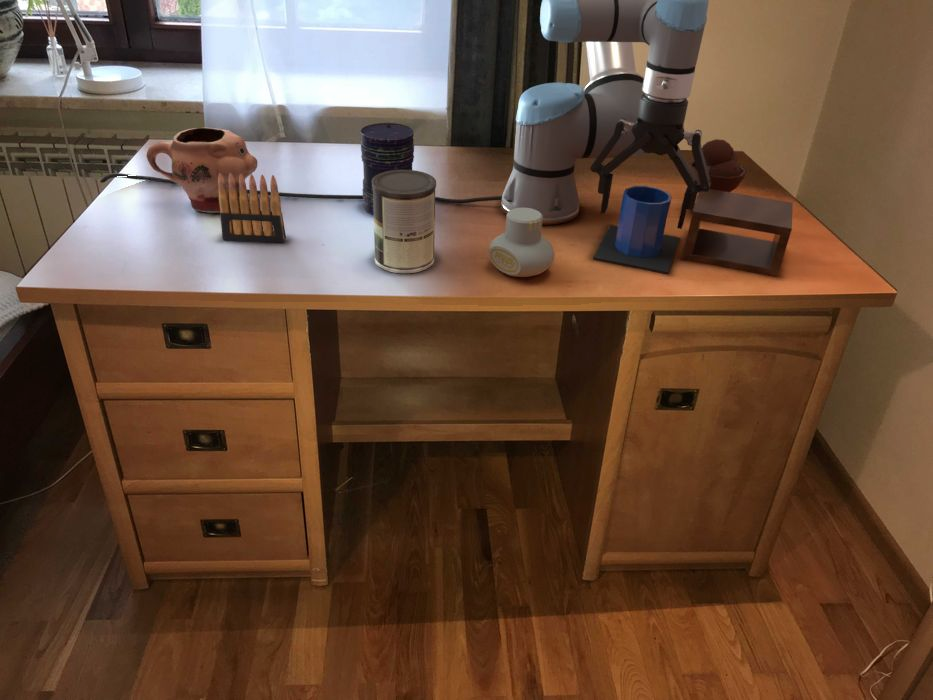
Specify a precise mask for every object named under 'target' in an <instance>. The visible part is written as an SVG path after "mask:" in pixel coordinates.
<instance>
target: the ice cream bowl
mask: <svg viewBox="0 0 933 700" xmlns="http://www.w3.org/2000/svg"><path fill="white" fill-rule="evenodd" d="M701 147H702V150H703V154H704V158H705V162H706V166H707V170H708V173H709V177H710V181H711V185H710V189H713V190H719V191H725V192H731V193H732V192H733V191H734V190H736V189H737V188H738V187H739V185H740V184H741V183H742V182H743V180H744V179H745V177H746V174H747V173H748V170H747V169H746V168H745V167H744V166H743V165H742V164H740V163H738V157H737V154H736V152H735V149H734V148H733V147H732V145H731V143H729V142H728V141H727V140H725V139H719V138H718V139H717V138H715V139H712V140H710V141H707V142H705V143H704V144H703V145H702V146H701ZM687 164H688V165H689V167H690V169H691V171H692V172H693V174H694V176H695V178H696V179H697V181H698V182H700V180H699V176H698V172H697V169H696V165H695V161H694V158H693V159H692V160H690V162H688V163H687Z"/></svg>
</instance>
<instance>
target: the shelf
mask: <svg viewBox="0 0 933 700" xmlns="http://www.w3.org/2000/svg"><path fill="white" fill-rule="evenodd" d="M793 203H794V202H791V201H786V200H779V199H773V198H767V197H763V196H762V197H761V196H755V195H750V194H744V193H743V194H742V193H737V192H732V191H731V192H725V191H719V190H713V189H709V191H707V192H704V191H701V192H698V193H697V197H696V201H695V205H694V208H693V210H692V213H691V218H690V222H689V227H688V231H687V236H686V240H685V243H684V244H685V245H684V250H683V253H682V257H681V258H682V260H686V261H692V262H697V263H702V264H708V265H714V266H718V267H723V268H729V269H734V270H739V271H744V272H750V273H755V274H761V275H765V276H771V277H776V278H778V276H779V273H780V270H781V267H782V264H783V261H784V256H785V253H786V250H787V247H788V243H789V240H790V237H791V234H792V231H793V211H794V209H793V208H794V204H793ZM702 222H704V223H708V224H709V223H710V224H715V225H721V226H727V227H731V228H732V227H733V228H736V229H737V228H738V229H743V230H749V231H755V232H761V233H766V234H770V235H771V234H772V235H773V238H772V240H767V239H760V238H756V237H749V236H745V235H739V234H733V233H727V232H722V231H716V230H710V229H705V228H701V224H702Z"/></svg>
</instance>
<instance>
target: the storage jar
mask: <svg viewBox="0 0 933 700" xmlns="http://www.w3.org/2000/svg"><path fill="white" fill-rule="evenodd" d="M414 132H415V131H414V129H413V128H412V127H410V126H408V125H406V124H402V123H395V122H380V123H379V122H377V123H371V124H368V125H365V126H363V127H362V128H361V129H360V137H361V138H360V153H361V161H362V163H363V165H362V167H363V179H362V195H363V199H362V200H363V210H364V212H366V213H367V214H369V215H371V216H374V212H373V187H372V179H373V178H374V177H375V176H376V175H378V174H380V173H383V172H386V171H391V170H413V163H414V160H415V159H414V158H415V155H414V154H415V144H414V141H415V140H414V137H415V136H414V134H415V133H414Z"/></svg>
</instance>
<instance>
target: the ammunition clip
mask: <svg viewBox="0 0 933 700" xmlns="http://www.w3.org/2000/svg"><path fill="white" fill-rule="evenodd" d="M248 179H249V181H248V187H247V183H246V179H244V177H243V175H242V174H240V176H239V194H240V196H239V197H238V194H237V189H236V184H235V180H234V177H233V175H232V174H231V173H230V174H229V180H228V184H229V197H228V194H227V190H226V185H225V181H224V178H223V176H222V174H221V173H219V176H218V187H219V203H220V210H221V212H219V217H220V226H221V227H220V228H221V235H222V240H223V241H225V242H226V241H227V242H248V243H268V244H269V243H270V244H272V243H273V244H285V241H286V240H287V235H286V229H285V222H284V216H283V211H282V204H281V203H282V202H281V196H279V193H278V192H279V186H278V182H277V179H276V177H275V175H274V174H272V175H271V178H270V184H269V185H270V192H271V196H269V195H268V190H269V189H268V184H267V181H266V178H265V176H264V174H261V175H260V179H259V191H260V195H258V192H257V190H258V187H257V182H256V180H255V176H254V174H253V173H252V174H250V175H249V178H248ZM248 188H249V189H248ZM247 189H248V190H250V194H248V193H247ZM239 201H240V202H239ZM229 202H230V203H229Z"/></svg>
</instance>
